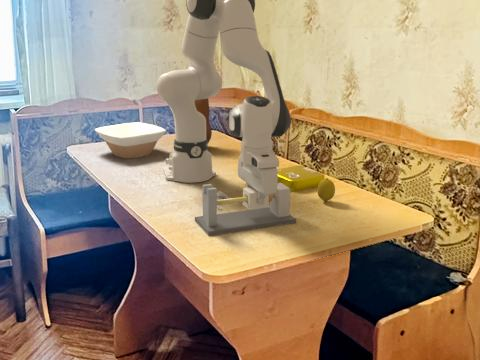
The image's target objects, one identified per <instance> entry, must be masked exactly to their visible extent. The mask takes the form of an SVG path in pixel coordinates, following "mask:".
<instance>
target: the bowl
mask: <svg viewBox="0 0 480 360" xmlns="http://www.w3.org/2000/svg"><path fill="white" fill-rule="evenodd" d="M94 131H95V132H96V134H98V135H99V137H100V138H102V139H103V140H104V142H105V143H106V145H107V147H108V148H109V150H110V151H111V153H112V154H113V155H114V154H115V155H114V156H116V155H117V156H116V157H118V156H119V158H122V159H126V160H128V159H129V158H130V159H136V158H140V157H146V156H149V154H150V155H151V153H152V152H153V150H154V148H155V146H156V144H157V143H158V142H159V140H160V139H161V138H163V136H164V134H166V133H167V130H166V129H165V128H163V127H161V126H157V125H155V124H151V123H150V124H149V123H145V122H139V121H136V122H135V121H134V122H126V123H125V122H124V123H120V124H112V125H105V126H101V127H97V128H94ZM130 159H129V160H130Z"/></svg>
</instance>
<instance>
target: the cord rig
mask: <svg viewBox="0 0 480 360" xmlns="http://www.w3.org/2000/svg"><path fill="white" fill-rule="evenodd" d="M217 198H218V197H217V188H216V187H213V185H212V183H208V184H202V216H201V215H200V216H194V222H195V223H196V224H197V225H198V226H199V227H200V228H201V230H203V231H204V232H205V234H207V235H208V237H209V236H216V235H221V234H228V233H229V234H230V233H236V232H243V231H248V230H250V231H251V230H255V229H256V230H257V229H263V228H268V227H276V226H282V225H289V224H296V223H297V218H296V217H294V216H293V215H291V214H290V206H291V205H290V204H291V202H290V201H291V191H290V188H288V187H287V186H285V185H284V184H282V183H277V191H276V193H275V194H274V195H269V207H268V208H261V209H253V210H249V209H245V210H237V211H231V212H223V213H218V212H217V211H218V209H217V205H219V206H222V205H229V204H237V203H238V202H246V201H248V196H247V197H243V196H241V197H240V196H239V197H233V198H231V197H230V198H231V199H225V198H224V199H221V200H217ZM238 204H239V203H238Z"/></svg>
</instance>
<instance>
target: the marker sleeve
mask: <svg viewBox="0 0 480 360" xmlns="http://www.w3.org/2000/svg"><path fill="white" fill-rule="evenodd" d="M258 195H259V194H258V190H256V189H255V188H253V187H250V188H247V187H243V188H242V197H247V196H248V201H246V202H243V204H242V205H243V206H244V207H245V208H247V210H253V209H261V208H268V207H270V202H269V195H266V197H265V199H264V204H263V205H259V204H257V198H258Z"/></svg>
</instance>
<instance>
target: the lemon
mask: <svg viewBox="0 0 480 360" xmlns="http://www.w3.org/2000/svg"><path fill="white" fill-rule="evenodd" d="M316 191H317V195H318V198H320V200H322V201H323V202H324V203H328V201H330V200H332V199H333V198H334V196H335V193H336V187H335V184H334V181H333V180H331V179H329V178H328V177H326V178H324V180H322V181H321V182H320V183H319V185H318V187H317V190H316Z"/></svg>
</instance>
